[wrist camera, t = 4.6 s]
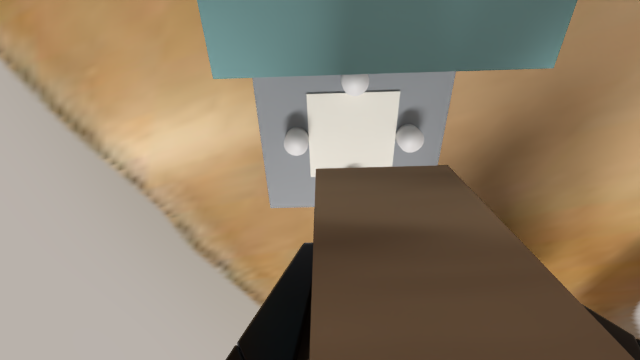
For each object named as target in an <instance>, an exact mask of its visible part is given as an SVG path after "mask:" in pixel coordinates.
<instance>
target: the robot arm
mask: <svg viewBox="0 0 640 360" xmlns="http://www.w3.org/2000/svg"><path fill="white" fill-rule="evenodd" d="M312 269H313V243H304V244H303V245H302V246H301V248H300V249H299V251H298V252H297V254H296V255H295V257H294V258H293V260H292V261H291V263H290V264H289V266H288V267H287V269H286V270H285V272H284V273H283V275H282V276H281V278H280V279H279V281H278V282H277V284H276V285H275V287H274V288H273V290H272V291H271V293H270V294H269V296H268V297H267V299H266V300H265V302H264V303H263V305H262V306H261V308H260V309H259V311H258V312H257V314H256V315H255V317H254V318H253V320H252V321H251V323H250V324H249V326H248V327H247V329H246V330H245V332H244V333H243V335H242V336H241V338H240V339H239V341H238V342H237V345H238V346H237V345H236V346H234V348H233V349H232V351H231V353H230V354H229V355H228V357H227V358H226V360H309V359H310V329H311V299H312ZM583 306H584V305H583ZM584 307H585V308H586V309H587V311H588V312H589V313H590V314H591V315H592V316H593V317H594V318H595V319H596V320H597V321H598V322H599V323H600V324H601V325H602V326H603V327H604V328H605V329H606V330H607V331H608V332H609V333H610V334H611V335H612V336H613V338H614V339H615V340H616V341H617V342H618V343H619V344H620V345H621V346H622V347H623V348H624V349H625V350H626V351H627V352H628V353H629V354H630V355H631V356H632V357H633V358H634V359H635V360H640V339H635V337H634V336H633V335H632V334H630V333H628V332H627V331H625V330H623V329H622V328H620V327H619V326H617V325H615V324H614V323H612V322H610V321H609V320H607V319H605V318H604V317H602V316H601V315H599V314H597V313H596V312H594V311H592V310H591V309H589V308H587V307H586V306H584Z"/></svg>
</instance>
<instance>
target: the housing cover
mask: <svg viewBox="0 0 640 360" xmlns="http://www.w3.org/2000/svg"><path fill="white" fill-rule="evenodd" d="M197 2H198V7H199V12H200V17H201V22H202V27H203V31H204V36H205V41H206V46H207V51H208V56H209V61H210V66H211V70H212V75H213V79H227V78H259V77H290V76H322V75H353V74H385V73H416V72H448V71H480V70H511V69H543V68H554V65H555V62H556V60H557V57H558V54H559V51H560V48H561V45H562V43H563V40H564V37H565V34H566V31H567V28H568V25H569V23H570V20H571V17H572V14H573V11H574V8H575V6H576V3H577V0H197Z"/></svg>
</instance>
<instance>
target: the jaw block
mask: <svg viewBox="0 0 640 360" xmlns="http://www.w3.org/2000/svg"><path fill="white" fill-rule="evenodd" d="M309 360H635V359H634V358H633V357H632V356H631V355H630V354H629V353H628V352H627V351H626V350H625V349H624V348H623V347H622V346H621V345H620V344H619V343H618V342H617V341H616V340H615V339H614V338H613V336H612V335H611V334H610V333H609V332H608V331H607V330H606V329H605V328H604V327H603V326H602V325H601V324H600V323H599V322H598V321H597V320H596V319H595V318H594V317H593V316H592V315H591V314H590V313H589V312H588V311H587V309H586V308H585V307H584V306H583V305H582V304H581V303H580V302H579V301H578V300H577V299H576V298H575V297H574V296H573V295H572V294H571V293H570V292H569V291H568V290H567V289H566V288H565V287H564V286H563V285H562V284H561V282H560V281H559V280H558V279H557V278H556V277H555V276H554V275H553V274H552V273H551V272H550V271H549V270H548V269H547V268H546V267H545V266H544V265H543V264H542V263H541V262H540V261H539V260H538V259H537V258H536V257H535V255H534V254H533V253H532V252H531V251H530V250H529V249H528V248H527V247H526V246H525V245H524V244H523V243H522V242H521V241H520V240H519V239H518V238H517V237H516V236H515V235H514V234H513V233H512V232H511V231H510V230H509V229H508V227H507V226H506V225H505V224H504V223H503V222H502V221H501V220H500V219H499V218H498V217H497V216H496V215H495V214H494V213H493V212H492V211H491V210H490V209H489V208H488V207H487V206H486V205H485V204H484V203H483V202H482V200H481V199H480V198H479V197H478V196H477V195H476V194H475V193H474V192H473V191H472V190H471V189H470V188H469V187H468V186H467V185H466V184H465V183H464V182H463V181H462V180H461V179H460V178H459V177H458V176H457V175H456V173H455V172H454V171H453V170H452V169H451V168H450V167H449V166H448V165H436V166H398V167H360V168H322V169H316V178H315V209H314V239H313V269H312V299H311V329H310V359H309Z"/></svg>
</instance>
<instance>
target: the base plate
mask: <svg viewBox="0 0 640 360" xmlns="http://www.w3.org/2000/svg"><path fill="white" fill-rule="evenodd" d="M455 73H456V71H448V72H416V73H385V74H353V75H322V76H290V77H259V78H252V79H253V86H254V93H255V100H256V108H257V115H258V122H259V129H260V136H261V143H262V150H263V158H264V165H265V172H266V179H267V186H268V193H269V200H270V208H291V207H315V178H316V169H322V168H360V167H398V166H436V165H438V161H439V155H440V150H441V145H442V140H443V135H444V130H445V125H446V119H447V114H448V109H449V104H450V99H451V94H452V89H453V83H454V78H455Z"/></svg>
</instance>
